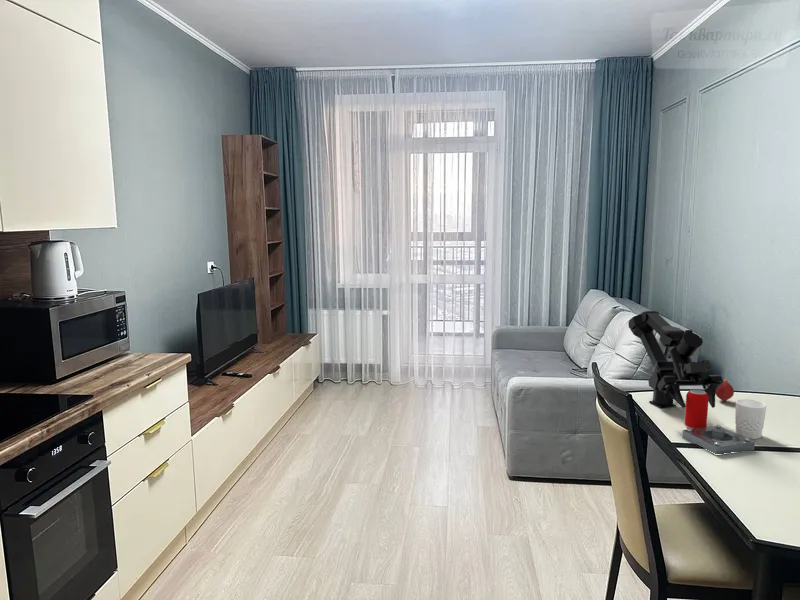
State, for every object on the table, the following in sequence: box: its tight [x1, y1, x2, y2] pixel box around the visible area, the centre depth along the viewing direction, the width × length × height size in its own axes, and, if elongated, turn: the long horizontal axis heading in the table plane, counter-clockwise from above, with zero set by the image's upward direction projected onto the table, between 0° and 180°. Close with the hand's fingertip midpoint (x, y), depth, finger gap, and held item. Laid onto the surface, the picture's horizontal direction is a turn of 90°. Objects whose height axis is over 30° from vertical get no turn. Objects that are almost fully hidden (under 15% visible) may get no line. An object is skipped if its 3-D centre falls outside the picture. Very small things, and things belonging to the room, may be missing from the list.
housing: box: [681, 424, 756, 455], centre depth 164 cm, size 13×13×3 cm
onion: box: [715, 379, 735, 402], centre depth 200 cm, size 6×6×8 cm
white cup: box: [734, 398, 767, 440], centre depth 170 cm, size 8×8×10 cm
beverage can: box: [684, 388, 709, 429], centre depth 176 cm, size 6×6×12 cm
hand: (699, 407), depth 174 cm, fingers open, 9 cm apart
